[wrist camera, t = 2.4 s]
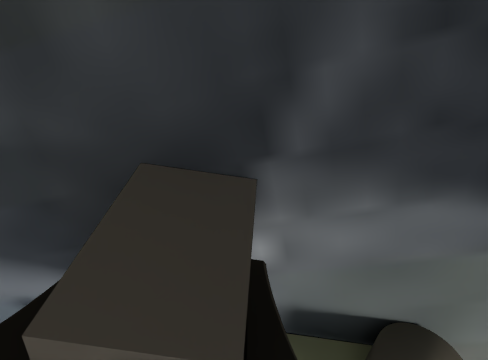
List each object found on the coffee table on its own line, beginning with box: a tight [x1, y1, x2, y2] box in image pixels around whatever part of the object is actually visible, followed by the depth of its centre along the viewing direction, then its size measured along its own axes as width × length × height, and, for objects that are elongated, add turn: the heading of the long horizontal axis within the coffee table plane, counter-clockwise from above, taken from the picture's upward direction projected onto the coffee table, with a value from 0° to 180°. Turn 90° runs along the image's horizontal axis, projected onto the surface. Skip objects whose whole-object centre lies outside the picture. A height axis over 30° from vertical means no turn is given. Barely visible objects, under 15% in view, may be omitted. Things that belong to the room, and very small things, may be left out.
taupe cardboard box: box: [22, 163, 257, 360], centre depth 10 cm, size 4×6×6 cm, turn 173°
